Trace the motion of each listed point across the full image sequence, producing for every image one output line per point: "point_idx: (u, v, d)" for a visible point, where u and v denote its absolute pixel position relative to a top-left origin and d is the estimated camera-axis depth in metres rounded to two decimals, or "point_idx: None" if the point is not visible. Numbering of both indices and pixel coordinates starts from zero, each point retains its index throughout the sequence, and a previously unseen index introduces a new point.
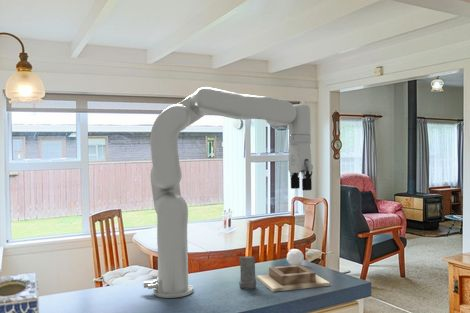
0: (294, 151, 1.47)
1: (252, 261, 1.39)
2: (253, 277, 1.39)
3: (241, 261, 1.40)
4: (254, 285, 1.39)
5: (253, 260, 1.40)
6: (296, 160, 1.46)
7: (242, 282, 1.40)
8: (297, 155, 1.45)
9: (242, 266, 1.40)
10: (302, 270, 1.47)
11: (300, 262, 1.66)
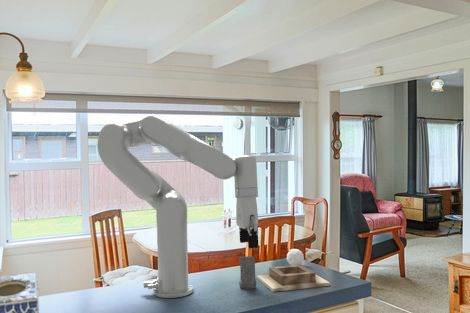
0: (240, 205, 1.39)
1: (252, 261, 1.39)
2: (253, 277, 1.39)
3: (241, 261, 1.40)
4: (254, 285, 1.39)
5: (253, 260, 1.40)
6: (242, 215, 1.37)
7: (242, 282, 1.40)
8: (242, 211, 1.37)
9: (242, 266, 1.40)
10: (302, 270, 1.47)
11: (300, 262, 1.66)
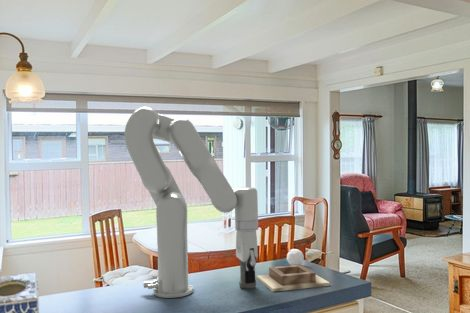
0: (240, 238, 1.38)
1: None
2: None
3: (241, 261, 1.40)
4: (254, 285, 1.39)
5: None
6: (241, 248, 1.37)
7: (242, 282, 1.40)
8: (242, 244, 1.36)
9: (242, 266, 1.40)
10: (302, 270, 1.47)
11: (300, 262, 1.66)
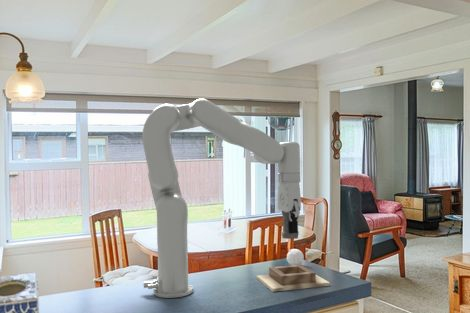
0: (283, 189, 1.44)
1: None
2: None
3: (284, 212, 1.45)
4: (297, 235, 1.45)
5: None
6: (285, 199, 1.43)
7: (285, 232, 1.45)
8: (286, 195, 1.42)
9: (285, 217, 1.45)
10: (302, 270, 1.47)
11: (300, 262, 1.66)
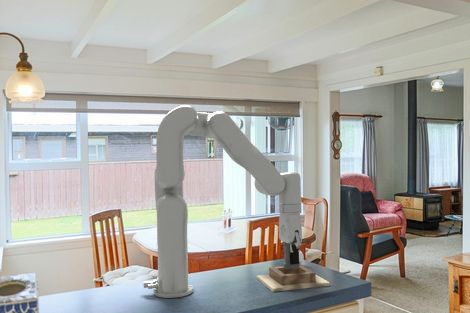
0: (284, 220, 1.44)
1: None
2: None
3: (285, 243, 1.45)
4: (298, 266, 1.45)
5: None
6: (286, 231, 1.43)
7: (286, 263, 1.45)
8: (287, 226, 1.42)
9: (286, 248, 1.45)
10: (302, 270, 1.47)
11: (300, 262, 1.66)
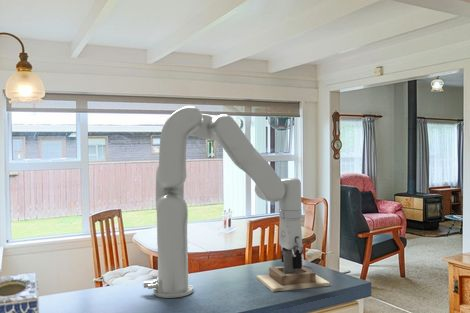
0: (285, 226, 1.44)
1: None
2: (296, 269, 1.45)
3: (285, 253, 1.45)
4: None
5: None
6: (286, 237, 1.43)
7: (286, 273, 1.45)
8: (287, 232, 1.42)
9: (286, 258, 1.45)
10: (302, 270, 1.47)
11: None
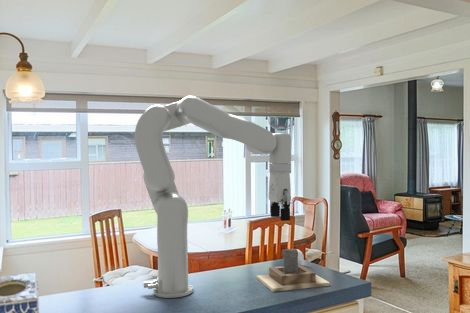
0: (274, 180, 1.45)
1: (295, 253, 1.45)
2: (296, 269, 1.45)
3: (285, 253, 1.45)
4: None
5: (296, 252, 1.45)
6: (275, 189, 1.44)
7: (286, 273, 1.45)
8: (276, 185, 1.43)
9: (286, 258, 1.45)
10: (302, 270, 1.47)
11: (300, 262, 1.66)
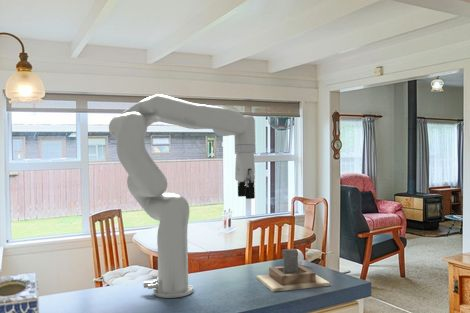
0: (239, 160, 1.52)
1: (295, 253, 1.45)
2: (296, 269, 1.45)
3: (285, 253, 1.45)
4: None
5: (296, 252, 1.45)
6: (240, 169, 1.51)
7: (286, 273, 1.45)
8: (241, 165, 1.50)
9: (286, 258, 1.45)
10: (302, 270, 1.47)
11: (300, 262, 1.66)
